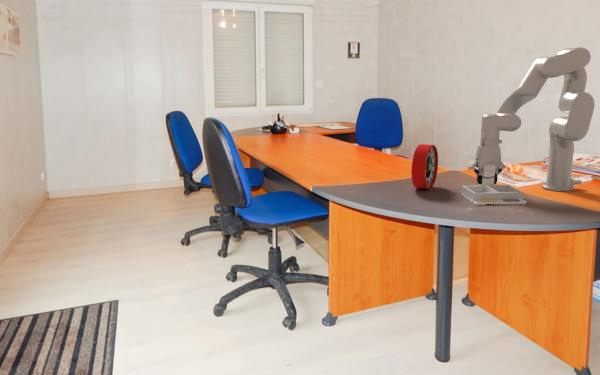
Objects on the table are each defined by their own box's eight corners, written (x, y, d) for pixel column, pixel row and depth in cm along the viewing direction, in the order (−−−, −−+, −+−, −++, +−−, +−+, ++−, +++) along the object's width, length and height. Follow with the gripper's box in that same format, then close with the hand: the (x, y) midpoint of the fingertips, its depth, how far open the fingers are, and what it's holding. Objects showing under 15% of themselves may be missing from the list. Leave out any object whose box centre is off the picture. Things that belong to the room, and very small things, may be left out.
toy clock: (423, 193, 215) (425, 147, 210) (410, 192, 218) (412, 147, 213) (437, 184, 231) (439, 142, 227) (424, 183, 234) (426, 141, 230)
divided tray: (507, 193, 212) (508, 184, 211) (526, 203, 195) (527, 194, 194) (461, 194, 211) (461, 185, 210) (476, 205, 195) (476, 195, 194)
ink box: (494, 192, 215) (496, 165, 212) (481, 192, 216) (483, 165, 213) (490, 188, 223) (492, 162, 220) (478, 187, 224) (480, 161, 221)
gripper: (505, 141, 219) (502, 181, 223) (466, 142, 218) (464, 182, 222) (513, 143, 211) (509, 185, 215) (473, 144, 211) (470, 185, 215)
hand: (486, 183), depth 219 cm, fingers closed on ink box, 5 cm apart
